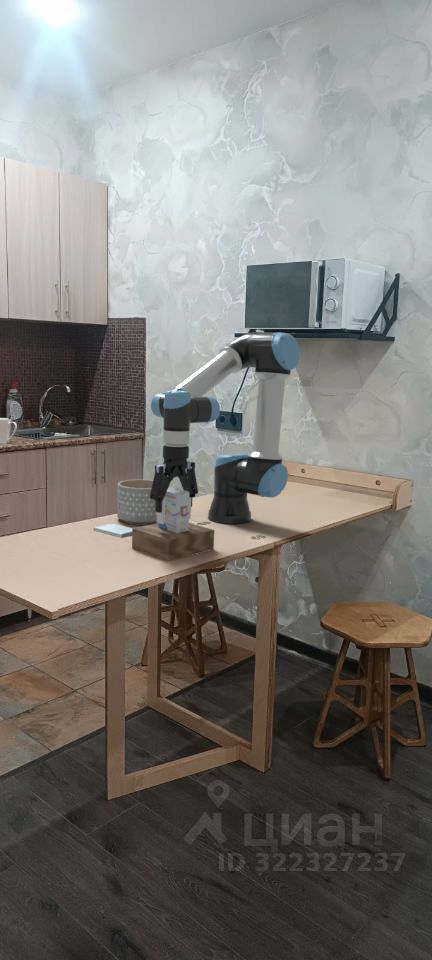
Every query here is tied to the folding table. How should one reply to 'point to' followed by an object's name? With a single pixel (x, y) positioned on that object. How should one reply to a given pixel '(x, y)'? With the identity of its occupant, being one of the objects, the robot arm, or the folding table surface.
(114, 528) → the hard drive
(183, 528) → the ink box
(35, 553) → the folding table surface
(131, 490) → the planter
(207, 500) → the folding table surface
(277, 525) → the folding table surface
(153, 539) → the walnut stand
